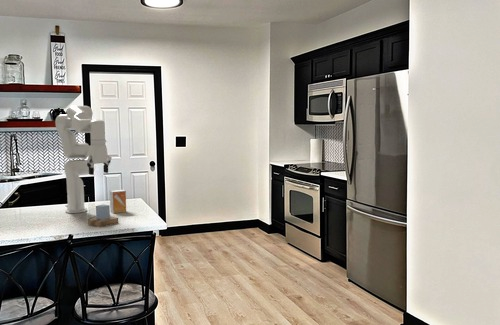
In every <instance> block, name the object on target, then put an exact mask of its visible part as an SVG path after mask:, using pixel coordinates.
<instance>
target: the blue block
mask: <svg viewBox="0 0 500 325" xmlns="http://www.w3.org/2000/svg"><path fill="white" fill-rule="evenodd" d="M110 217H111V212H110V204H109V205H108V204H99V205H98V204H97V205H95V218H96V219H100V220H104V219H109V218H110Z"/></svg>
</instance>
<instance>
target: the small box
mask: <svg viewBox="0 0 500 325" xmlns="http://www.w3.org/2000/svg"><path fill="white" fill-rule="evenodd" d="M126 191H127V190H125V189H115V190H110V191H109V205H110V213H113V214H117V213H118V214H119V213H126V212H127V192H126Z"/></svg>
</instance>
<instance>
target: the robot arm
mask: <svg viewBox="0 0 500 325" xmlns="http://www.w3.org/2000/svg"><path fill="white" fill-rule="evenodd" d="M93 112H94V111H93V110H92V108H91V107H90V106H88V105H71V106H69V107H68V108H67V109H66V114H59V115H57V116H56V118H55V128H56V130H57V133H58V135H59V137H60V139H61V145H62V149H63V155H64V157H65V158H66V159H69V160H67V161H66V162H65V163H64V165H63V167H64V168H63V169H64V174H65V178H66V193H67V195H66V196H67V204H66V205H65V207H66V208H67V209H65V213H67V214H80V213H85V212H87V211H88V208H87V207H85V190H84V189H85V188H84V187H85V186H84V181H83V179H82V178H81V177H80V176H86V175H91V176H94V175H95V174H94V173H95V168H96V167H95V165H96V164H97V165H99V164H103V166H102V167H103V173H105V174H109V166H110V164H111V160H112V156H110V155H108V149H107V145H106V143H107V140H106V123H105V120H103V119H97V118H96V119H95V118H93ZM70 129H73V130H74V131H75V132H77V133H79V134H88V133H89V134H90V145H89V143H87V142H78V141H77V137H76V135H75V133H74V132H73V131H71V130H70Z"/></svg>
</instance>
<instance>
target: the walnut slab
mask: <svg viewBox="0 0 500 325" xmlns="http://www.w3.org/2000/svg"><path fill="white" fill-rule="evenodd" d="M116 224H119V217H116V216H110V218H109V219H104V220H100V219H96V217H93V218H89V219H87V225H88V226H92V227H99V228H103V227H109V226H112V225H116Z"/></svg>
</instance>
